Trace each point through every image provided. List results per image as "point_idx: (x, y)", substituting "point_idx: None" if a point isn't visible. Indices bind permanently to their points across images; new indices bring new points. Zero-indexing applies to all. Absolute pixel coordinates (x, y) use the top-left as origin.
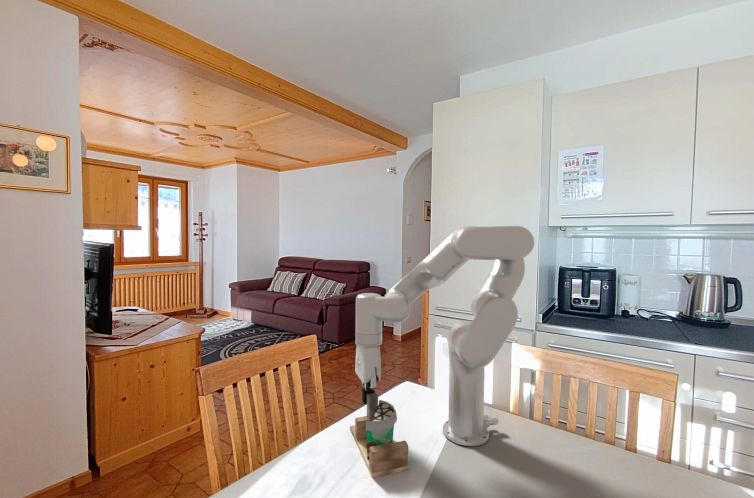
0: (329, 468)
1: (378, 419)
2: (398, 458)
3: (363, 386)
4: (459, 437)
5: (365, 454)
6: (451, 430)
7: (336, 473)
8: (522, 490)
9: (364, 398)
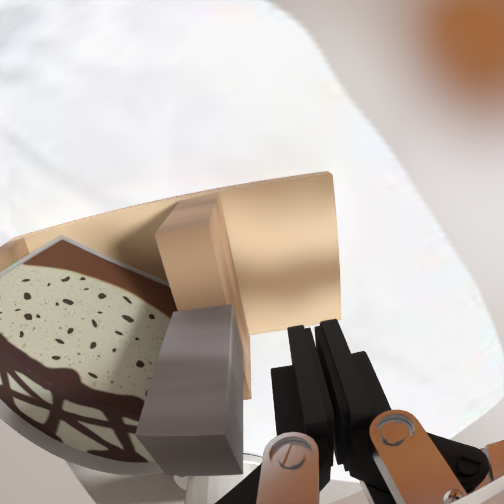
0: (49, 86)
1: (2, 376)
2: None
3: (367, 435)
4: None
5: (85, 230)
6: None
7: (26, 117)
8: (67, 462)
9: (294, 363)
